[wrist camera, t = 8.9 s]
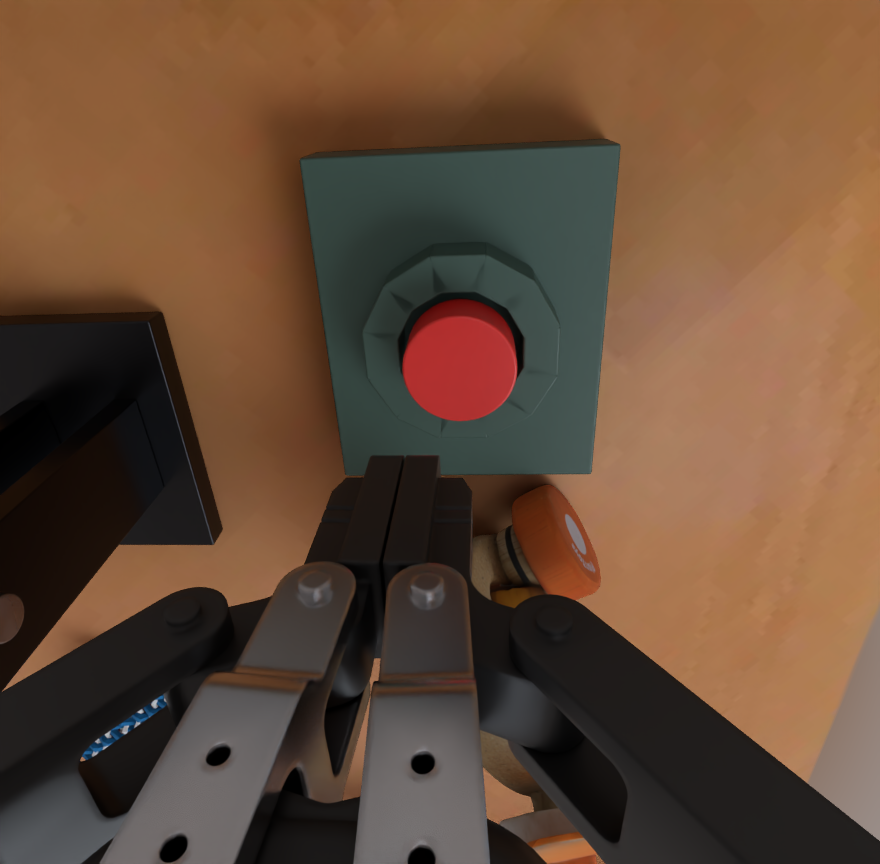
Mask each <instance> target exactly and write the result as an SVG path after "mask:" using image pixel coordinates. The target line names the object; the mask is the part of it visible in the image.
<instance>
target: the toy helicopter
mask: <svg viewBox="0 0 880 864" xmlns="http://www.w3.org/2000/svg"><path fill="white" fill-rule="evenodd" d="M512 522H513V525H511V526H509V527H508V528H506V529H504V530H503V531H501V532H500V533H499V534H492V535H479V536H476V537H474V538H473V559H472V583H473V585H474V586H475V588H476V589H477V590H478V591H479V592H480V593H481V594H482V595H483V596H485V597H486V598H488V599H490V600H492V601H494V602H496V603H499V604H502V605H505V606H509V607H512V608H515V607H516V606H517V605H518V604H519V603H521V602H522V601H524V600H526V599H528V598H530V597H533V596H537V595H543V594H553V595H560V596H565V597H568V598H571V599H573V600H578V599H580V598H583V597H585V596H588V595H590V594H593V593H594V592H596V591H597V590H598V588H599V587H600V582H601V576H600V569H599V565H598V561H597V557H596V554H595V552H594V550H593V547H592V545H591V542H590V540H589V538H588V536H587V534H586V532H585V529H584V527H583V525H582V523H581V521H580V519H579V517H578V516H577V514H576V512H575V510H574V509H573V508H572V506H571V505H570V503H569V502H568V501H567V499H566V498H565V497H564V496H563V494H562V493H561V492H560V491H559V490H558V489H556V488H555V487H553V486H551V485H543V486H540V487H538V488H536V489H534V490H532V491H530V492H528V493H526V494H524V495H522V496H520V497H519V498H517V499H516V500H515V501H514V503H513V506H512ZM480 738H481V751H482V764H483V767H484V768H485V769H486V770H487V771H488V772H489V773H490V774H491V775H492V776H493V777H494V778H495V779H497V780H498V781H499V782H500V783H502V784H503V785H505V786H506V787H508V788H509V789H511V790H513V791H515V792H517V793H520V794H522V795H526V796H530V797H531V799H532V803H533V807H534V812H531V813H527V814H523V815H521V816H517V817H513V818H509V819H505V820H502V821H501V822H500V824H499V825H501V826H503V827H505V828H506V829H508V830H509V831H511V832H512V833H514V834H515V835H517V836H518V837H520V838H521V839H522V840H523V841H524V842H526V843H527V844H528V845H529V846H530V847H532V848H533V849H534V850H535V851H536V852H537V853H538V854H539V855H540V856H541V858H542V859H543V860H544V861H545V862H546V863H547V864H597V862H596V854H597V853H596V852H595V850H594V849H593V848H592V847H591V846H590V845H589V843H588V842H587V841H586V840H585V839H584V838H583V836H582V835H581V834H580V833H579V832H578V831H577V829H576V828H575V827H574V826H573V825H572V823H571V822H570V821H569V820H568V819H567V818H566V816H565V815H564V814H563V813H562V812H561V811H560V809H559V808H558V807H557V806H556V805H555V803H554V802H553V801H552V800H551V799H550V798H549V796H548V795H547V794H546V793H545V792H544V791H543V789H542V788H541V787H540V786H539V785H538V784H537V782H536V781H535V780H534V779H533V778H532V776H531V775H530V774H529V773H528V772H527V771H526V769H525V768H524V767H523V766H522V765H521V764H520V762H519V761H518V760H517V759H516V758H515V756H514V755H513V753H512V752H511V750H510V747H509V744H508V741H507V740H506V739H503V738H501V737H498V736H495V735H492V734H490V733H487V732H484V731H482V730H480Z"/></svg>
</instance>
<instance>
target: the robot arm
mask: <svg viewBox="0 0 880 864" xmlns="http://www.w3.org/2000/svg"><path fill="white" fill-rule="evenodd" d="M472 559H473V527H472V491H471V489H470V488H469V486H468V485H467V483H466V482H465V481H464V479H463V478H441V466H440V456H439V455H406V458H405V456H404V455H372V456H371V457H370V459H369V462H368V465H367V468H366V472H365V475H364V478H346V479H345V480H344V481H343V482H342V483H341V484H339V485H338V486H337V487H336V488H335V489H334V490H333V491H332V493H331V496H330V498H329V501H328V504H327V506H326V510H325V511H324V514H323V517H322V522H321V523H320V524H319V527H318V530H317V532H316V535H315V537H314V540H313V543H312V545H311V548H310V550H309V553H308V556H307V558H306V561H305V563H304V565H302V566H300V567H298V568H296V569H294V570H292V571H291V572H289V573H288V574H287V575H286V576H284V578H283V579H282V580H281V581H280V583H279V584H278V586H277V588H276V590H275V591H274V593H273V595H272V596H270V597H268V598H265V599H261V600H258V601H253V602H249V603H244V604H240V605H235V606H231V607H228V603H227V600H226V598H225V597H224V596H223V594H222V593H220V592H219V591H217V590H214V589H211V588H206V587H194V588H188V589H184V590H180V591H177V592H175V593H172V594H170V595H168V596H166V597H164V598H163V599H161V600H159V601H157V602H156V603H154V604H152V605H151V606H149V607H147V608H145V609H144V610H142V611H140V612H139V613H137V614H135V615H133V616H132V617H130V618H128V619H126V620H125V621H123V622H121V623H120V624H118V625H116V626H114V627H113V628H111V629H109V630H108V631H106V632H104V633H102V634H101V635H99V636H97V637H96V638H94V639H92V640H90V641H89V642H87V643H85V644H84V645H82V646H80V647H78V648H77V649H75V650H73V651H71V652H70V653H68V654H66V655H65V656H63V657H61V658H59V659H58V660H56V661H54V662H53V663H51V664H49V665H47V666H46V667H44V668H42V669H41V670H39V671H37V672H35V673H34V674H32V675H30V676H28V677H27V678H25V679H23V680H22V681H20V682H18V683H16V684H15V685H13V686H11V687H10V688H8V689H6V690H4V691H3V692H1V693H0V864H547V863H546V862H545V861H544V860H543V859H542V858H541V856H540V855H539V854H538V853H537V852H536V851H535V850H534V849H533V848H532V847H530V846H529V845H528V844H527V843H526V842H524V841H523V840H522V839H521V838H520V837H518V836H517V835H515V834H514V833H512V832H511V831H509V830H508V829H506V828H505V827H503V826H501V825H499V824H497V823H495V822H493V821H491V820H489V819H487V817H486V804H485V791H484V778H483V764H482V751H481V738H480V730H482V731H484V732H487V733H490V734H492V735H495V736H498V737H501V738H503V739H506V740H507V741H508V744H509V747H510V750H511V752H512V753H513V755H514V756H515V758H516V759H517V760H518V761H519V762H520V764H521V765H522V766H523V767H524V768H525V769H526V771H527V772H528V773H529V774H530V775H531V776H532V778H533V779H534V780H535V781H536V782H537V784H538V785H539V786H540V787H541V788H542V789H543V791H544V792H545V793H546V794H547V795H548V796H549V798H550V799H551V800H552V801H553V802H554V803H555V805H556V806H557V807H558V808H559V809H560V811H561V812H562V813H563V814H564V815H565V816H566V818H567V819H568V820H569V821H570V822H571V823H572V825H573V826H574V827H575V828H576V829H577V831H578V832H579V833H580V834H581V835H582V836H583V838H584V839H585V840H586V841H587V842H588V843H589V845H590V846H591V847H592V848H593V849H594V850H595V852H596V853H597V854H598V855H599V856H600V858H601V859H602V860H603V861H604V862H605V863H606V864H880V841H879V840H878V839H876V838H875V837H874V836H873V835H871V834H870V833H869V832H868V831H866V830H865V829H864V828H863V827H861V826H860V825H859V824H858V823H856V822H855V821H854V820H852V819H851V818H850V817H849V816H847V815H846V814H845V813H844V812H842V811H841V810H840V809H839V808H837V807H836V806H835V805H834V804H832V803H831V802H830V801H829V800H827V799H826V798H825V797H824V796H822V795H821V794H820V793H819V792H817V791H816V790H815V789H814V788H812V787H811V786H810V785H809V784H807V783H806V782H805V781H804V780H802V779H801V778H800V777H798V776H797V775H796V774H795V773H793V772H792V771H791V770H790V769H788V768H787V767H786V766H785V765H783V764H782V763H781V762H780V761H778V760H777V759H776V758H775V757H773V756H772V755H771V754H770V753H768V752H767V751H766V750H765V749H763V748H762V747H761V746H760V745H758V744H757V743H756V742H754V741H753V740H752V739H751V738H749V737H748V736H747V735H746V734H744V733H743V732H742V731H741V730H739V729H738V728H737V727H736V726H734V725H733V724H732V723H731V722H729V721H728V720H727V719H726V718H724V717H723V716H722V715H721V714H719V713H718V712H717V711H716V710H714V709H713V708H712V707H710V706H709V705H708V704H707V703H705V702H704V701H703V700H702V699H700V698H699V697H698V696H697V695H695V694H694V693H693V692H692V691H690V690H689V689H688V688H687V687H685V686H684V685H683V684H682V683H680V682H679V681H678V680H677V679H675V678H674V677H673V676H672V675H670V674H669V673H668V672H667V671H665V670H664V669H663V668H661V667H660V666H659V665H658V664H656V663H655V662H654V661H653V660H651V659H650V658H649V657H648V656H646V655H645V654H644V653H643V652H641V651H640V650H639V649H638V648H636V647H635V646H634V645H633V644H631V643H630V642H629V641H628V640H626V639H625V638H624V637H623V636H621V635H620V634H619V633H617V632H616V631H615V630H614V629H612V628H611V627H610V626H609V625H607V624H606V623H605V622H604V621H602V620H601V619H600V618H599V617H597V616H596V615H595V614H594V613H592V612H591V611H590V610H589V609H587V608H586V607H585V606H583V605H582V604H580V603H579V602H577V601H575V600H573V599H571V598H568V597H565V596H560V595H553V594H543V595H537V596H533V597H530V598H528V599H526V600H524V601H522V602H521V603H519V604H518V605H517V606H516V607H515V608H512V607H509V606H505V605H502V604H499V603H496V602H494V601H492V600H490V599H488V598H486V597H485V596H483V595H482V594H481V593H480V592H479V591H478V590H477V589H476V588H475V586H474V585H473V583H472ZM374 658H381V661H380V672H379V680H378V681H374V683H373V686H372V691H371V698H370V681H369V680H370V677H371V672H372V667H373V662H374ZM161 695H164V698H165V700H166V703H167V705H166V706H165V707H163V708H162V709H161V710H159V711H158V712H156V713H155V714H154V715H152V716H151V717H149V718H148V719H146V720H145V721H144V722H142V723H141V724H139V725H138V726H136V727H135V728H134V729H132V730H131V731H129V732H128V733H126V734H125V735H124V736H122V737H121V738H119V739H118V740H117V741H115V742H114V743H112V744H111V745H109V746H108V747H107V748H105V749H104V750H102V751H101V752H99V753H98V754H97V755H95V756H93V757H92V758H90V759H88V760H85V761H82V762H80V759H81V757H82V755H83V754H84V752H85V751H86V750H87V749H88V747H89V746H90V745H91V744H92V743H94V742H95V741H96V740H98V739H99V738H100V737H102V736H103V735H105V734H106V733H108V732H109V731H111V730H112V729H113V728H115V727H116V726H118V725H119V724H121V723H122V722H124V721H125V720H127V719H128V718H129V717H131V716H132V715H134V714H135V713H137V712H138V711H140V710H141V709H143V708H144V707H145V706H147V705H148V704H150V703H151V702H153V701H154V700H156V699H157V698H159V697H160V696H161ZM369 698H370V708H369V718H368V728H367V737H366V747H365V757H364V767H363V776H362V786H361V796H360V797H357V798H353V799H348V800H344V801H342V800H343V794H344V789H345V785H346V781H347V777H348V774H349V770H350V767H351V763H352V759H353V756H354V752H355V749H356V745H357V741H358V738H359V734H360V731H361V727H362V723H363V720H364V716H365V712H366V709H367V705H368V702H369Z"/></svg>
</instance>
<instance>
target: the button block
mask: <svg viewBox="0 0 880 864" xmlns="http://www.w3.org/2000/svg"><path fill="white" fill-rule="evenodd" d="M620 147H621V146H620V144H618V143H615V142H613V141H610V140H608V139H591V140H569V141H548V142H526V143H505V144H484V145H462V146H441V147H419V148H398V149H376V150H355V151H333V152H316V153H314V154H311V155H308V156H306V157H303V158H301V159H300V168H301V175H302V181H303V188H304V195H305V202H306V209H307V216H308V223H309V229H310V236H311V243H312V250H313V257H314V264H315V270H316V277H317V284H318V291H319V298H320V305H321V312H322V318H323V325H324V332H325V339H326V346H327V353H328V360H329V366H330V373H331V380H332V387H333V394H334V401H335V407H336V414H337V421H338V428H339V435H340V442H341V449H342V455H343V462H344V469H345V474H346V475H347V476H357V475H365V472H366V468H367V465H368V462H369V459H370V457H371V456H372V455H404V456H405V458H406V455H439V456H440V466H441V475H511V474H591V472H592V461H593V450H594V438H595V427H596V416H597V405H598V394H599V382H600V371H601V360H602V349H603V338H604V326H605V315H606V304H607V293H608V281H609V270H610V259H611V248H612V237H613V225H614V214H615V203H616V192H617V181H618V169H619V158H620ZM453 299H469V300H474V301H478V302H481V303H483V304H485V305H488V306H489V307H491V308H492V309H494V310H495V311H496V312H498V313H499V314H500V315H501V316H502V317H503V318H504V320H505V321H506V323H507V324H508V326H509V328H510V330H511V332H512V335H513V338H514V343H515V350H516V358H517V378H516V382H515V385H514V387H513V390H512V392H511V393H510V395H509V397H508V398H507V399H506V401H505V402H504V403H503V404H502V405H501V406H500V407H498V408H497V409H496V410H495V411H493V412H491V413H490V414H488V415H486V416H483V417H481V418H478V419H474V420H469V421H452V420H447V419H443V418H440V417H437V416H435V415H433V414H431V413H429V412H427V411H426V410H425V409H423V408H422V407H421V406H420V405H419V404H418V403H417V402H416V401H415V400H414V399H413V397H412V396H411V394H410V393H409V391H408V389H407V387H406V385H405V381H404V378H403V372H402V363H403V357H404V353H405V350H406V346H407V343H408V339H409V336H410V333H411V330H412V328H413V326H414V324H415V323H416V321H417V320H418V319H419V318H420V316H421V315H422V314H423V313H424V312H426V311H427V310H428V309H430V308H431V307H433V306H435V305H437V304H439V303H441V302H444V301H448V300H453Z"/></svg>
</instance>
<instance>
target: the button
mask: <svg viewBox="0 0 880 864" xmlns="http://www.w3.org/2000/svg"><path fill="white" fill-rule="evenodd" d="M402 372H403V378H404V381H405V385H406V387H407V389H408V391H409V393H410V394H411V396H412V397H413V399H414V400H415V401H416V402H417V403H418V404H419V405H420V406H421V407H422V408H423V409H425V410H426V411H427V412H429V413H431V414H433V415H435V416H437V417H440V418H443V419H447V420H452V421H469V420H474V419H478V418H481V417H483V416H486V415H488V414H490V413H491V412H493V411H495V410H496V409H497V408H498V407H500V406H501V405H502V404H503V403H504V402H505V401H506V399H507V398H508V397H509V395H510V393H511V392H512V390H513V387H514V385H515V382H516V378H517V358H516V350H515V343H514V338H513V335H512V332H511V330H510V328H509V326H508V324H507V323H506V321H505V320H504V318H503V317H502V316H501V315H500V314H499V313H498V312H496V311H495V310H494V309H492V308H491V307H489V306H488V305H485V304H483V303H481V302H478V301H474V300H469V299H453V300H448V301H444V302H441V303H439V304H437V305H435V306H433V307H431V308H430V309H428V310H427V311H426V312H424V313H423V314H422V315H421V316H420V318H419V319H418V320H417V321H416V323H415V324H414V326H413V328H412V330H411V333H410V336H409V339H408V343H407V346H406V350H405V353H404V357H403V363H402Z"/></svg>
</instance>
